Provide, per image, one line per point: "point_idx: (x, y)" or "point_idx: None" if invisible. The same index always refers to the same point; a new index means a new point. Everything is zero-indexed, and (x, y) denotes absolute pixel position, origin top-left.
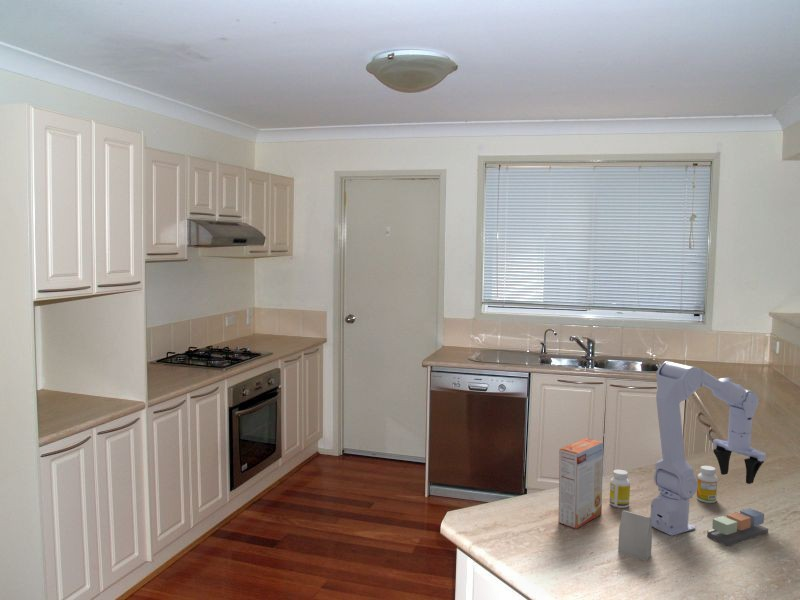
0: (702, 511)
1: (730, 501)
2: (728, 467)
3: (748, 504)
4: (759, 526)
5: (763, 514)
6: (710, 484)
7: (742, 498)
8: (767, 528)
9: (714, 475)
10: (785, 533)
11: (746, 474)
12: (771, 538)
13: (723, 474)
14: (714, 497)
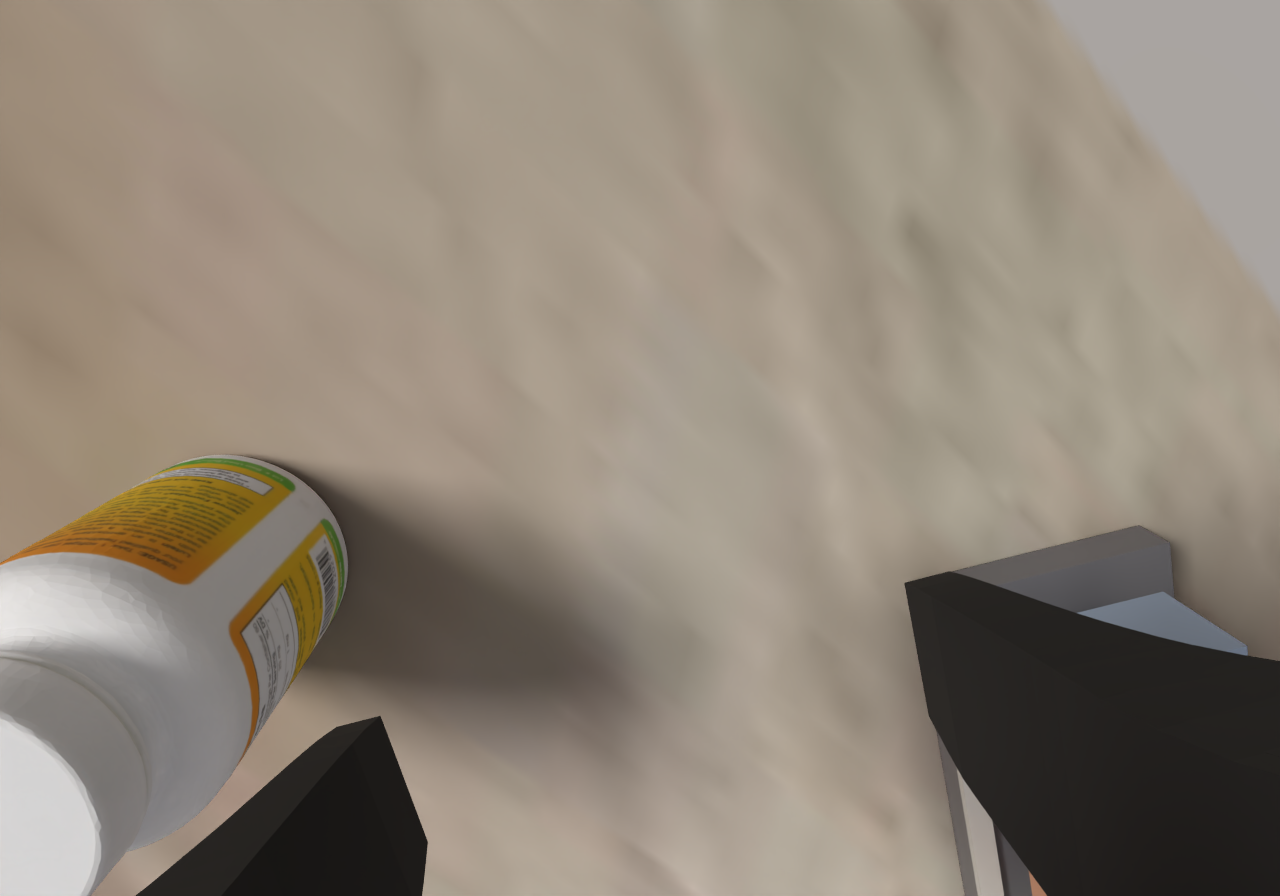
0: (533, 791)
1: (329, 304)
2: (325, 784)
3: (454, 139)
4: (1097, 590)
5: (1241, 654)
6: (260, 720)
7: (253, 58)
8: (1161, 544)
9: (116, 675)
10: (1209, 351)
11: (1051, 887)
12: (1227, 574)
13: (422, 836)
14: (329, 564)
